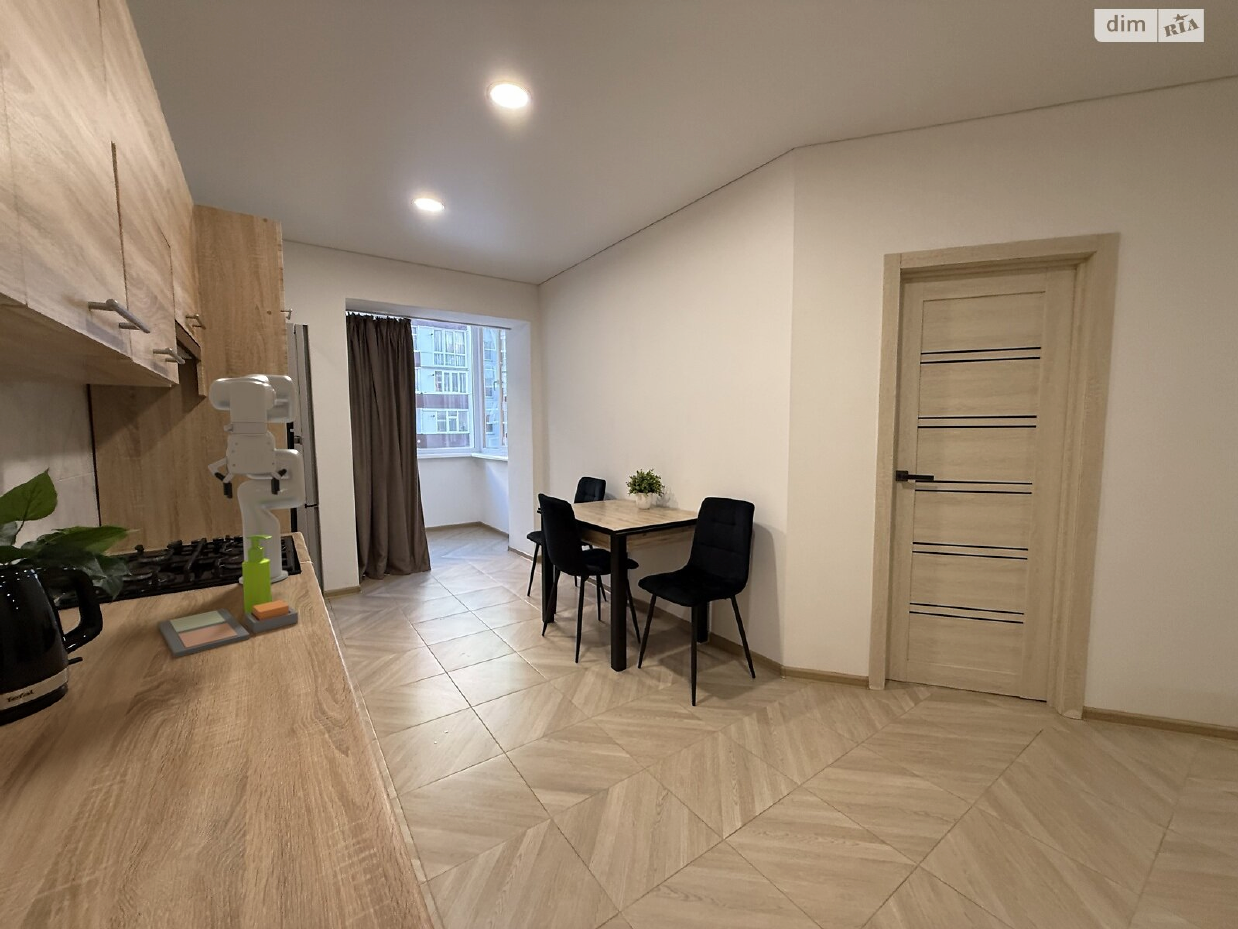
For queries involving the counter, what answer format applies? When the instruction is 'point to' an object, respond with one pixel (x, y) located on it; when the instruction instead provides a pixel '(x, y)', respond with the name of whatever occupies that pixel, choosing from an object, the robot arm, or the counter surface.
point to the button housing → (270, 621)
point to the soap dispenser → (256, 575)
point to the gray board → (202, 632)
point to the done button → (270, 609)
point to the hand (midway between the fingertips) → (252, 496)
